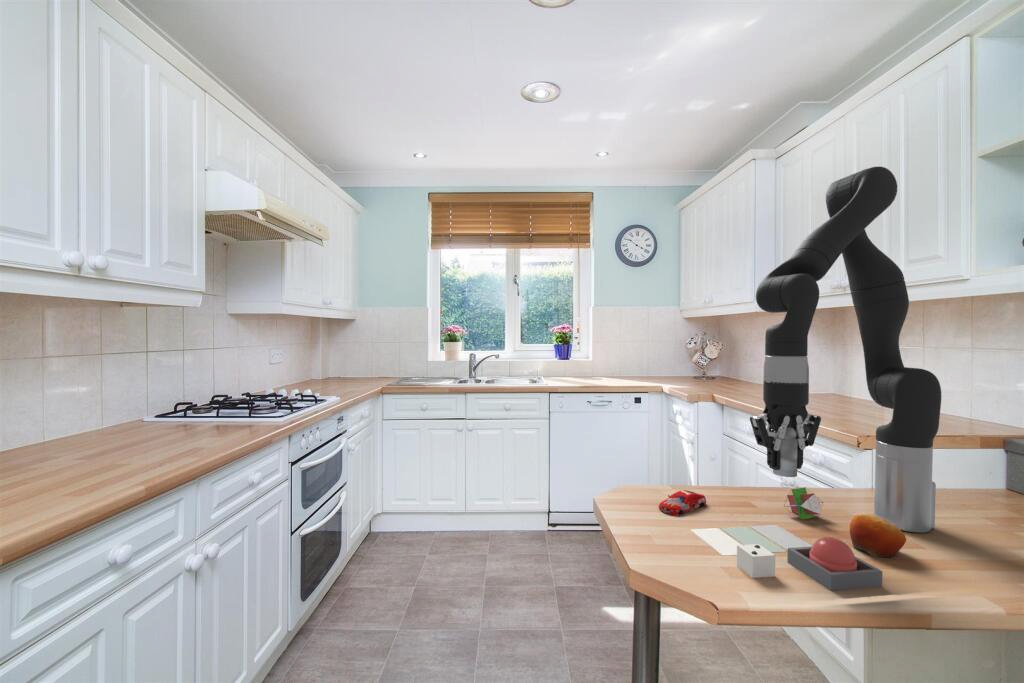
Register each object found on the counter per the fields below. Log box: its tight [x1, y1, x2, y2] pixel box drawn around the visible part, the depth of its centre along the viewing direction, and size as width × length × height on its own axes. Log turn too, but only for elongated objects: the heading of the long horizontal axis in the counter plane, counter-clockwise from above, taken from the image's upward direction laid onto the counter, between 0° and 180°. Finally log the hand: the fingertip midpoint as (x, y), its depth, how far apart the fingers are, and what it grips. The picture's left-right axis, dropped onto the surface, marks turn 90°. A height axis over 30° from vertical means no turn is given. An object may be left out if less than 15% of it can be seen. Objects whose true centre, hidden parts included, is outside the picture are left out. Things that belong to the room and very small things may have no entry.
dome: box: [809, 536, 857, 572], centre depth 76 cm, size 6×6×6 cm
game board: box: [690, 524, 813, 557], centre depth 88 cm, size 20×12×1 cm, turn 98°
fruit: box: [849, 513, 907, 558], centre depth 84 cm, size 8×8×8 cm
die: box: [736, 544, 776, 579], centre depth 76 cm, size 4×4×4 cm
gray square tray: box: [786, 547, 883, 592], centre depth 76 cm, size 9×9×3 cm
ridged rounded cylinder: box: [772, 427, 798, 478], centre depth 89 cm, size 4×4×10 cm
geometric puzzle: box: [783, 486, 824, 521], centre depth 100 cm, size 7×7×8 cm
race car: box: [658, 489, 707, 517], centre depth 105 cm, size 13×5×4 cm, turn 124°
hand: (784, 467), depth 89 cm, fingers closed on ridged rounded cylinder, 4 cm apart
